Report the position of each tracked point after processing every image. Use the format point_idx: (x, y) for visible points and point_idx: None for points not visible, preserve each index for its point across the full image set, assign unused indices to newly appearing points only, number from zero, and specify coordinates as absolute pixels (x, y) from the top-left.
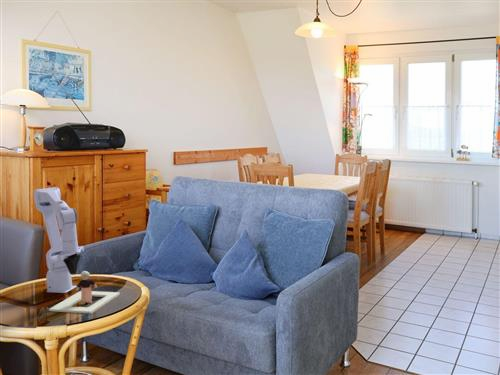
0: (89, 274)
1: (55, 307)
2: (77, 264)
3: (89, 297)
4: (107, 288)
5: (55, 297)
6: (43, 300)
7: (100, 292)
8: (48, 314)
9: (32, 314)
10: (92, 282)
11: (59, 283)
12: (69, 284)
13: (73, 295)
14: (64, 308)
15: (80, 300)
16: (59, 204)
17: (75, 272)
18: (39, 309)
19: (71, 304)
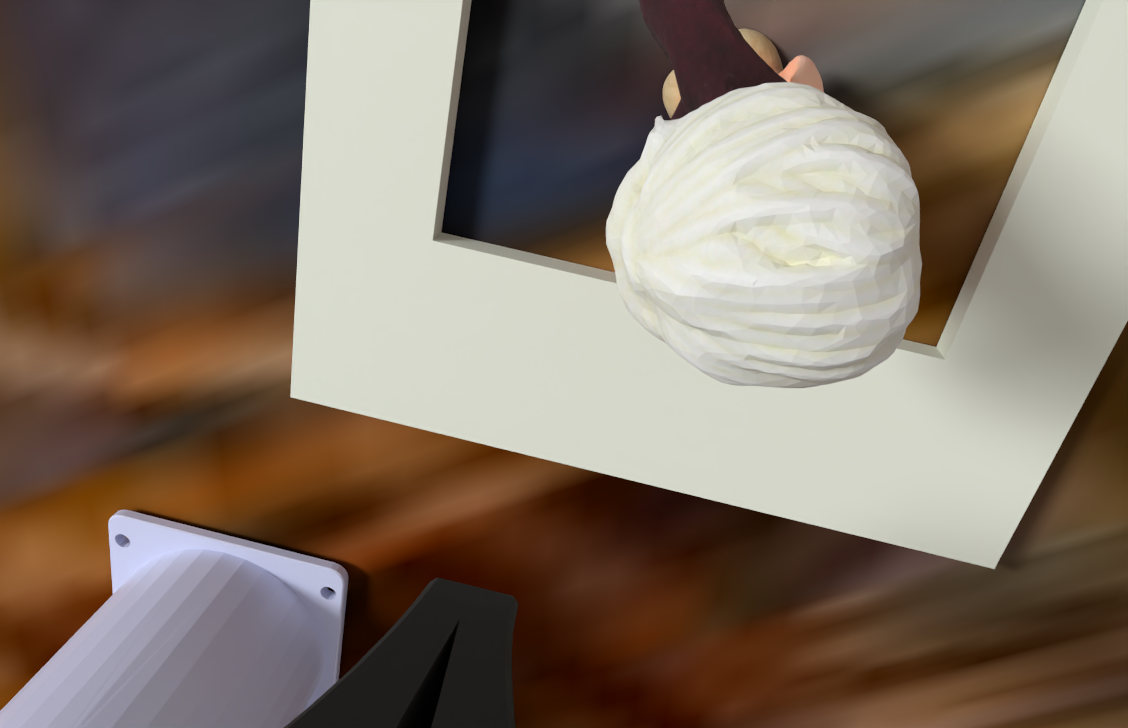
0: (775, 88)
1: (955, 506)
2: (318, 721)
3: (800, 62)
4: (90, 31)
5: None
6: (578, 715)
7: (351, 39)
8: (1123, 518)
9: (1052, 692)
10: (726, 10)
11: (273, 718)
12: (203, 598)
13: (484, 431)
14: (1043, 368)
15: None
16: None
17: (470, 602)
18: (887, 670)
19: None
